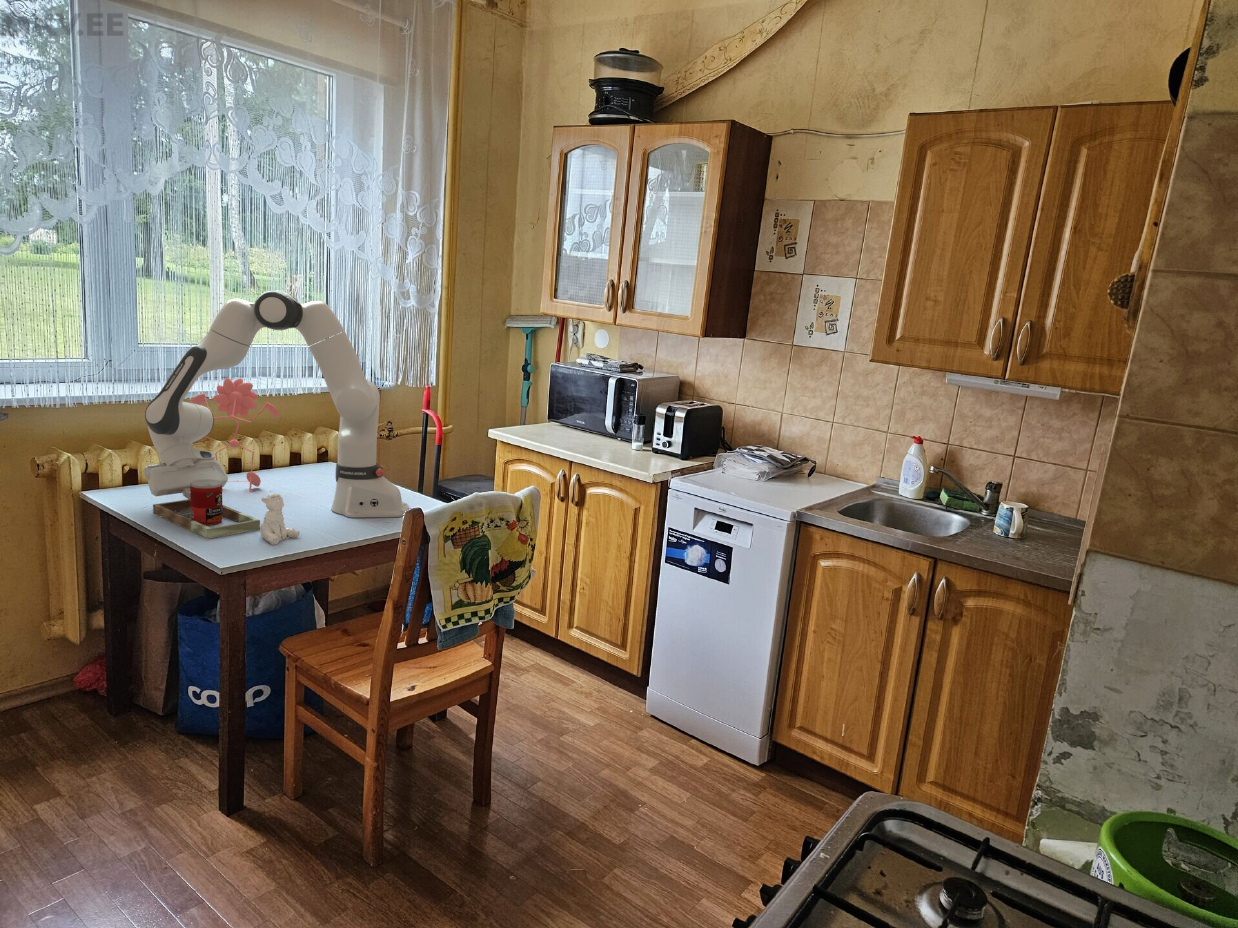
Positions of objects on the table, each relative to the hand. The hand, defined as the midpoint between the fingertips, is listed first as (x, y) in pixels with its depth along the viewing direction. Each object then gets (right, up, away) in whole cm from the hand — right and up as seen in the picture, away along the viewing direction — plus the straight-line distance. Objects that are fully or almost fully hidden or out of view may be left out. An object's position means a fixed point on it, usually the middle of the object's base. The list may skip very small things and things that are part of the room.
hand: (198, 502), depth 225 cm
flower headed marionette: (-6, +3, +35) cm, 36 cm away
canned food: (+3, -5, -2) cm, 6 cm away
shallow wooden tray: (+3, -5, -1) cm, 6 cm away
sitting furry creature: (+26, -9, -11) cm, 29 cm away
